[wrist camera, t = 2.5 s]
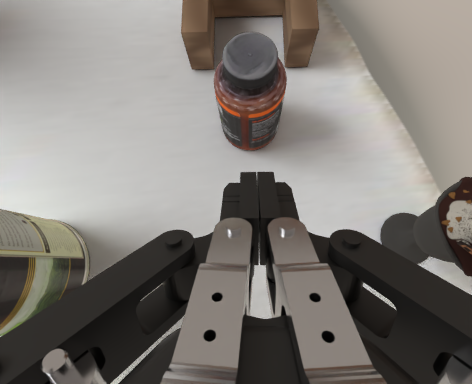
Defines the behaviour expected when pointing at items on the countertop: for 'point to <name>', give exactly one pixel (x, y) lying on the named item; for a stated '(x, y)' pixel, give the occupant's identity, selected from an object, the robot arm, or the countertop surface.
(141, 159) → the countertop surface
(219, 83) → the supplement bottle
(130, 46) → the countertop surface
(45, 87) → the countertop surface
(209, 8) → the walnut u-shaped holder
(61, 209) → the countertop surface
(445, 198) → the sundae
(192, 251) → the robot arm
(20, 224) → the coffee can
